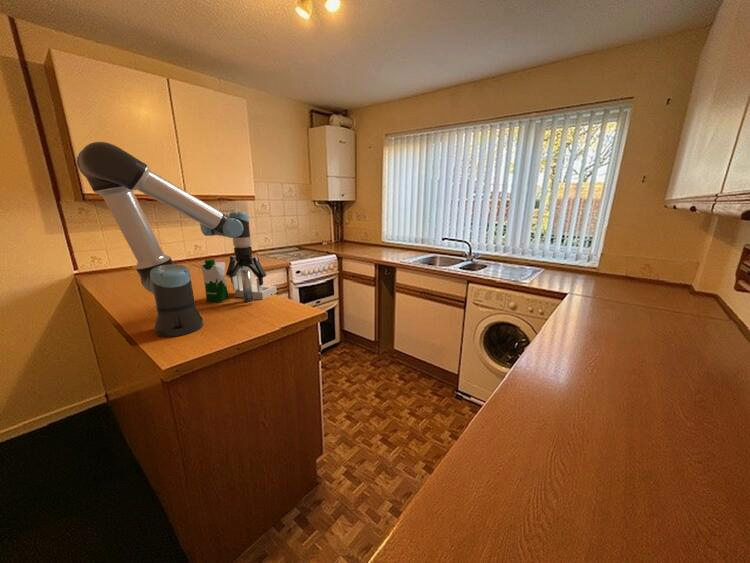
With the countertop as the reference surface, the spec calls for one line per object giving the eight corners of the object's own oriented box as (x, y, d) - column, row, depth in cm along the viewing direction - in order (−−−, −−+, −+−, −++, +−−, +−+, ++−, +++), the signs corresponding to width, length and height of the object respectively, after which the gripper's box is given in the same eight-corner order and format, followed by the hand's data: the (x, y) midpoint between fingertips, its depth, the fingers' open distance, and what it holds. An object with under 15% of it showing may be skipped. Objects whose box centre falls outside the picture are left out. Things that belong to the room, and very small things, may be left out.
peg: (249, 302, 140) (246, 271, 137) (242, 301, 141) (238, 271, 138) (255, 300, 144) (251, 269, 140) (248, 299, 145) (244, 269, 141)
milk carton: (203, 302, 141) (197, 260, 136) (215, 296, 150) (209, 257, 145) (221, 302, 140) (215, 261, 135) (231, 297, 149) (226, 257, 144)
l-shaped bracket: (262, 299, 145) (259, 266, 141) (236, 296, 149) (232, 265, 145) (276, 292, 156) (274, 262, 152) (251, 290, 160) (248, 261, 156)
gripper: (271, 246, 136) (275, 290, 142) (225, 244, 143) (231, 286, 148) (261, 248, 129) (266, 294, 135) (213, 246, 136) (220, 290, 141)
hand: (248, 290), depth 141 cm, fingers open, 13 cm apart
